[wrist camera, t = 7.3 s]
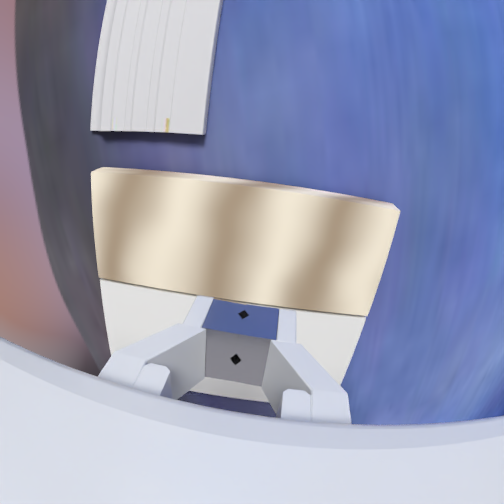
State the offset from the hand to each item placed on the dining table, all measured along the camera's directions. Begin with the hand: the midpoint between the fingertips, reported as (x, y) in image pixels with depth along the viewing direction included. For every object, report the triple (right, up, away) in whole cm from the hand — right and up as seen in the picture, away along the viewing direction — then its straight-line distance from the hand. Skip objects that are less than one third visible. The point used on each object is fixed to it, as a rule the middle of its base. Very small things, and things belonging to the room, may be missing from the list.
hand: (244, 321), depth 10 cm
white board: (-2, -5, +16) cm, 17 cm away
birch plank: (-1, +3, +12) cm, 13 cm away
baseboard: (-6, +24, +5) cm, 26 cm away
